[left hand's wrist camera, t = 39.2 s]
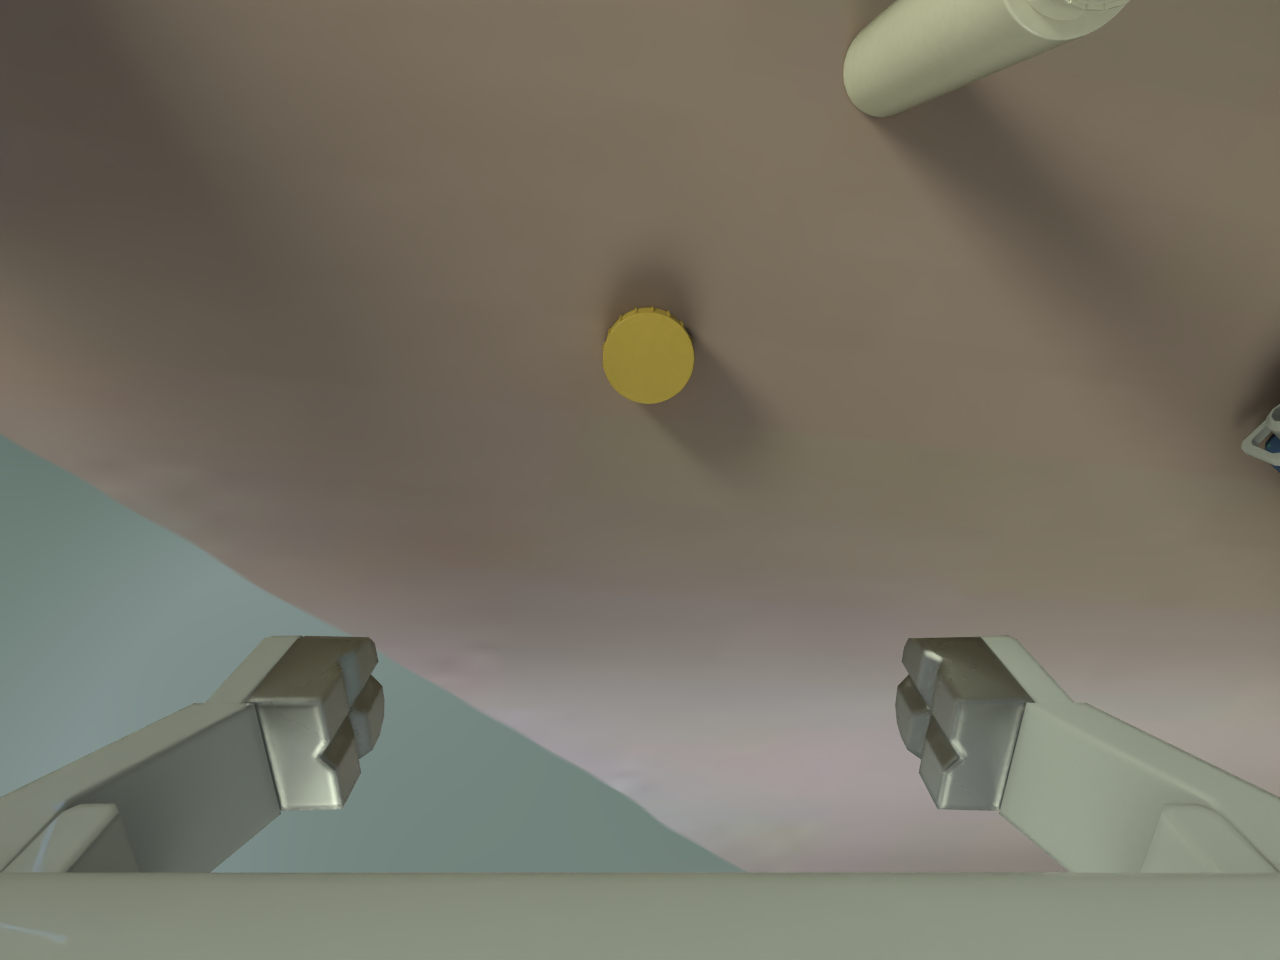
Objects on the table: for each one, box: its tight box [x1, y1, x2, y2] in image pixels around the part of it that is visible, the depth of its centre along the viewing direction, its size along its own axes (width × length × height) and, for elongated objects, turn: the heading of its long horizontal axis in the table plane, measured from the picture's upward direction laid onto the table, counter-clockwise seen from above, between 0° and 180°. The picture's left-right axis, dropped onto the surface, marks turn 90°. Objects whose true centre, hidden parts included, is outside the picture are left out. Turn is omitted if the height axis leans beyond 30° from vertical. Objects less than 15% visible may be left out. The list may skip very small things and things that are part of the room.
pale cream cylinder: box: [843, 0, 1130, 117], centre depth 24 cm, size 4×4×17 cm
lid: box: [602, 306, 695, 404], centre depth 35 cm, size 5×5×2 cm
